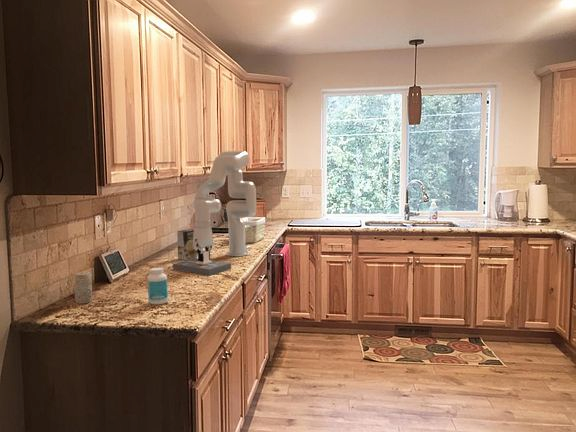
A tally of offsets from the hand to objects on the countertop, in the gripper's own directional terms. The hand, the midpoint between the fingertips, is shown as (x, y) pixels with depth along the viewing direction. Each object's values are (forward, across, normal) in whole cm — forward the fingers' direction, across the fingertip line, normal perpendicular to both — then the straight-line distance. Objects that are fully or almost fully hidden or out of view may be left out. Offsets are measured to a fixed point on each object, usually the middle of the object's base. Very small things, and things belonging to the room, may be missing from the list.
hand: (204, 260), depth 246 cm
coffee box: (+5, -16, -28) cm, 32 cm away
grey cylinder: (+5, +66, -2) cm, 66 cm away
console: (+5, 0, -2) cm, 5 cm away
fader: (+1, 0, 0) cm, 1 cm away
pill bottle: (+5, +51, +24) cm, 56 cm away
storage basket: (+5, -81, -34) cm, 88 cm away
